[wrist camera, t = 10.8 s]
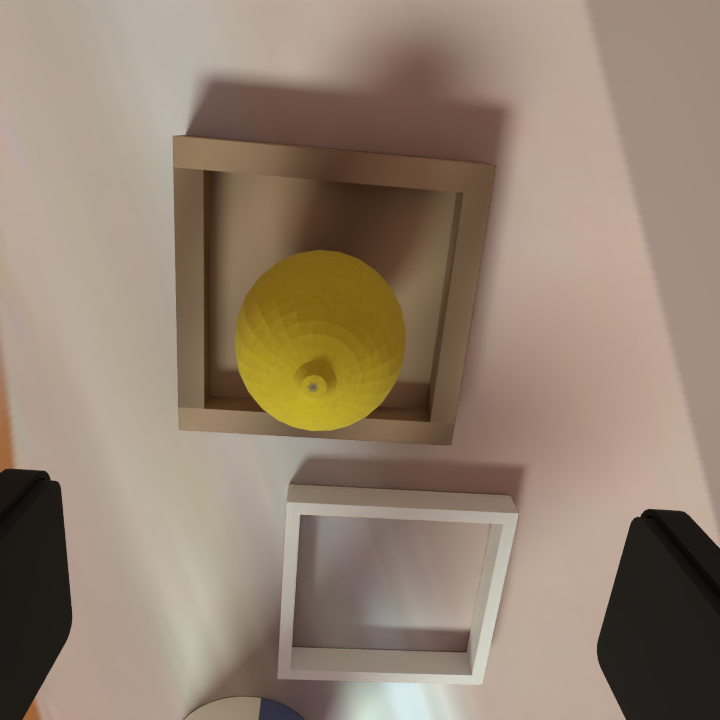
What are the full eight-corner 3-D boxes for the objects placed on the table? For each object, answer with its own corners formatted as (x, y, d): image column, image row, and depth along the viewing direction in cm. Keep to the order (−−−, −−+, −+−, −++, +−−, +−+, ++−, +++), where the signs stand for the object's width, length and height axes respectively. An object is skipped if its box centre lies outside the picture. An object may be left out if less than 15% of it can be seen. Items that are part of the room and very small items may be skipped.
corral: (510, 495, 28) (518, 513, 27) (475, 661, 32) (481, 684, 30) (288, 484, 27) (286, 502, 26) (279, 655, 31) (277, 679, 29)
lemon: (304, 201, 22) (279, 244, 15) (426, 284, 23) (459, 363, 16) (229, 320, 24) (172, 412, 16) (346, 392, 25) (342, 508, 18)
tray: (483, 162, 23) (496, 165, 21) (443, 425, 26) (451, 445, 25) (184, 135, 22) (172, 135, 20) (188, 410, 26) (178, 429, 24)
